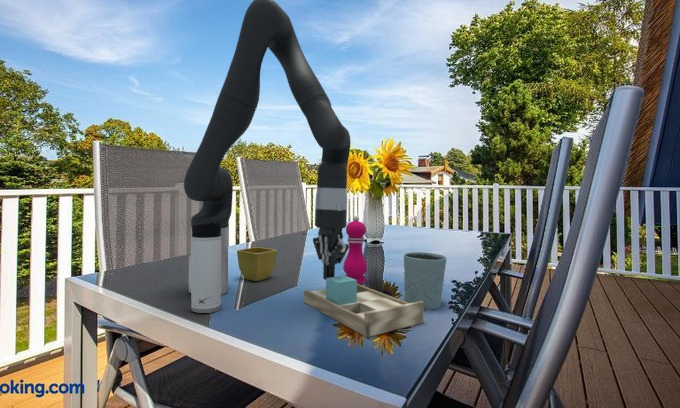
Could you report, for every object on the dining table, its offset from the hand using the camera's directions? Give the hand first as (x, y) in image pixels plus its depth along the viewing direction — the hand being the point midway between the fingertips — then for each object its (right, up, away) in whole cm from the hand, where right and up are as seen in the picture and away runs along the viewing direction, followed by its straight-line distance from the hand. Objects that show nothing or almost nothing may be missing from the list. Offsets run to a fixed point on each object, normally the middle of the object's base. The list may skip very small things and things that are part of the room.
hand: (328, 279), depth 87 cm
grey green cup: (+23, -7, +2) cm, 24 cm away
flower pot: (-23, -5, +25) cm, 34 cm away
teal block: (+3, -4, -4) cm, 7 cm away
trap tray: (+7, -6, -4) cm, 10 cm away
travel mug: (-27, -6, -5) cm, 28 cm away
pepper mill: (+7, -6, +23) cm, 25 cm away
